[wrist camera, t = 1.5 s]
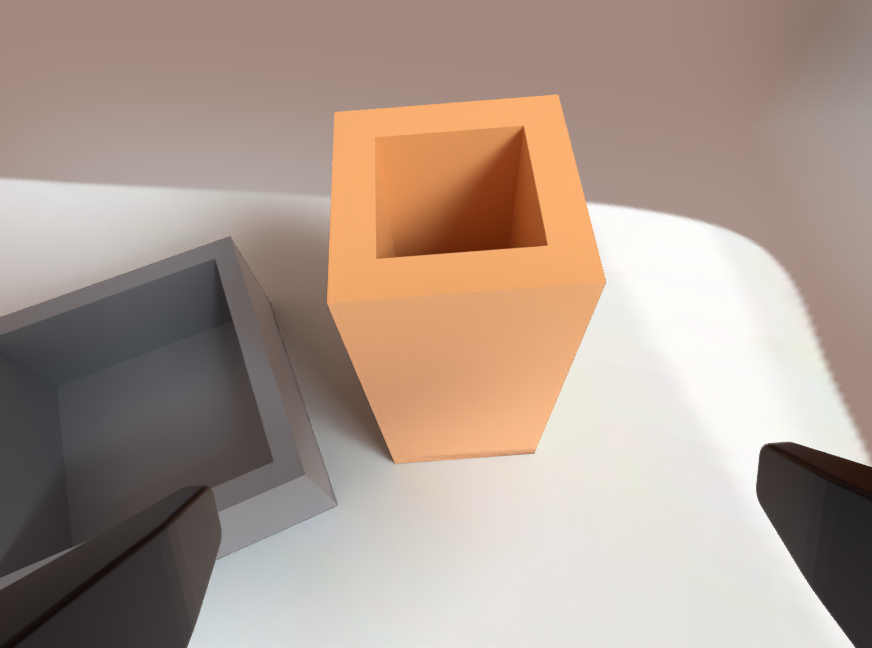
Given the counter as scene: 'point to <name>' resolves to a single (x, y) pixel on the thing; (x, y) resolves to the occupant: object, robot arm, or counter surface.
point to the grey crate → (151, 409)
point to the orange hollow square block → (460, 270)
